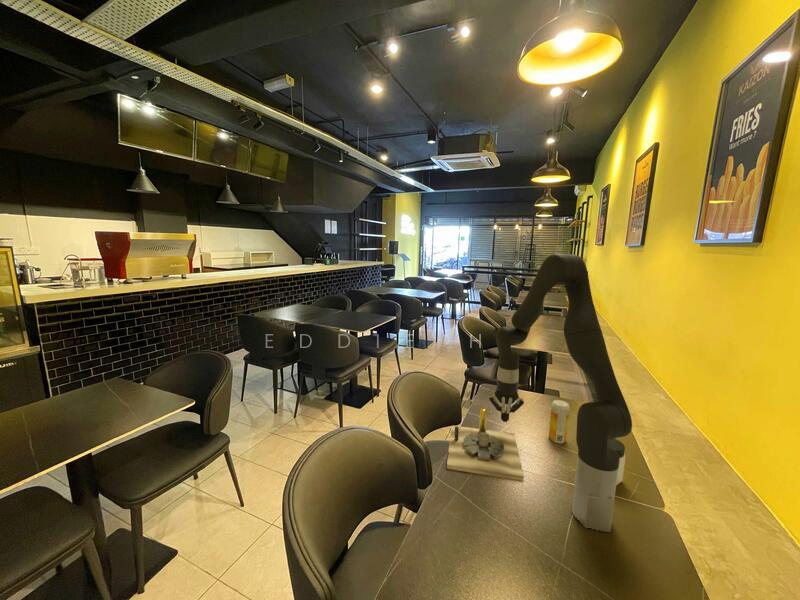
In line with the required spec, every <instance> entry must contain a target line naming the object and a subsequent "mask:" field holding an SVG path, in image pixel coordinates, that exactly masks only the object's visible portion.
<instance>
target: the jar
mask: <svg viewBox="0 0 800 600" xmlns="http://www.w3.org/2000/svg"><path fill="white" fill-rule="evenodd" d="M607 445H608V446H610V447H611V448H613V449H614V450H615V451H616V452H617V453H618V455H619V459H620V461H619V469H618V476H617V483H616V486H618V485H619V484H620V483H621V484H622V482H623V478H624V472H625V465H626V463H625V462H626V456H627V455H626V454H625V451H626V446H625V444H624V443H623V442H622V441H621V440H619V439H618V438H613V439H608V444H607Z"/></svg>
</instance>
